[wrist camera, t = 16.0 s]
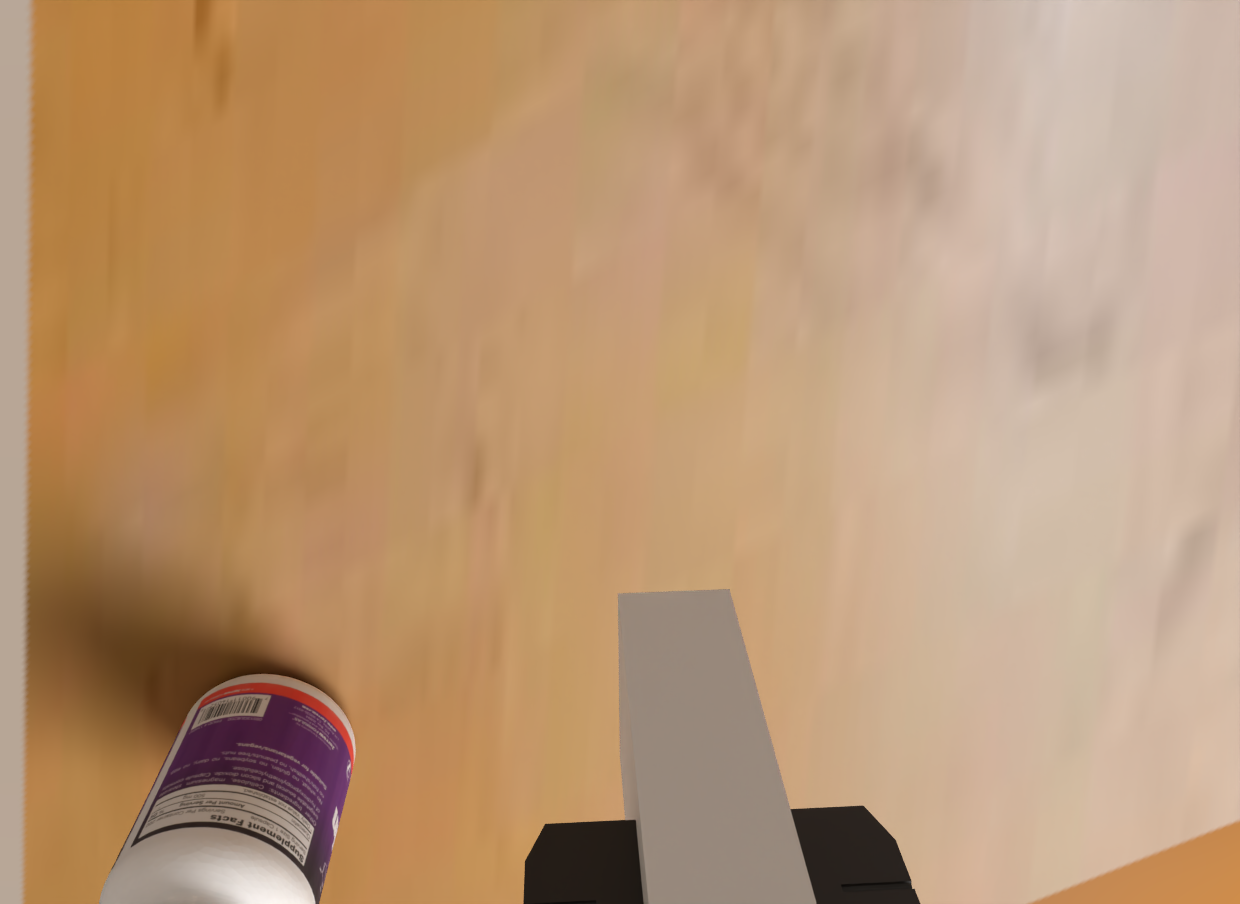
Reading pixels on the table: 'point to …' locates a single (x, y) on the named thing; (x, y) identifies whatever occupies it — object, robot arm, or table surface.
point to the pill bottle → (242, 801)
